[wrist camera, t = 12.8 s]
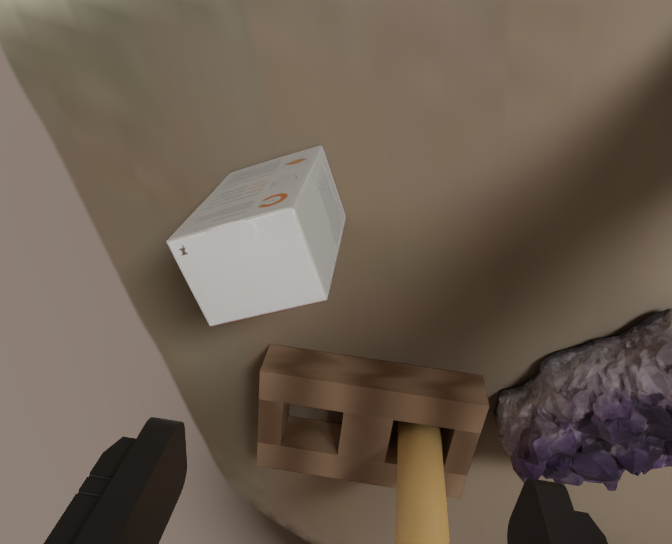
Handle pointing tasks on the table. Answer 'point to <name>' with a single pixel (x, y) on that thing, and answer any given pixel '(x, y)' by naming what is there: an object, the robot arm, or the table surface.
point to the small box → (263, 239)
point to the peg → (420, 486)
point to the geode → (594, 409)
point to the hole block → (363, 415)
